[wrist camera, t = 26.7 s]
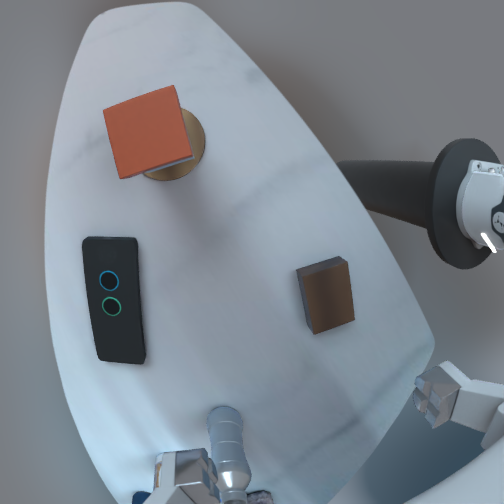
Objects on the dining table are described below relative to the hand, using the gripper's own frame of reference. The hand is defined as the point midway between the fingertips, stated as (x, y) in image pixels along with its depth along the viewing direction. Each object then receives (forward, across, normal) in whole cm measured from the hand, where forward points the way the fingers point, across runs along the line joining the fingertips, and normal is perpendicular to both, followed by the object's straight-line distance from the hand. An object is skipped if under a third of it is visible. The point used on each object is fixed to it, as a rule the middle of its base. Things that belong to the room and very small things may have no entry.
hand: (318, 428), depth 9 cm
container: (+26, -6, +11) cm, 29 cm away
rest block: (+34, +11, -12) cm, 37 cm away
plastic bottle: (+34, -10, -32) cm, 48 cm away
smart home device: (+34, -20, -5) cm, 39 cm away
